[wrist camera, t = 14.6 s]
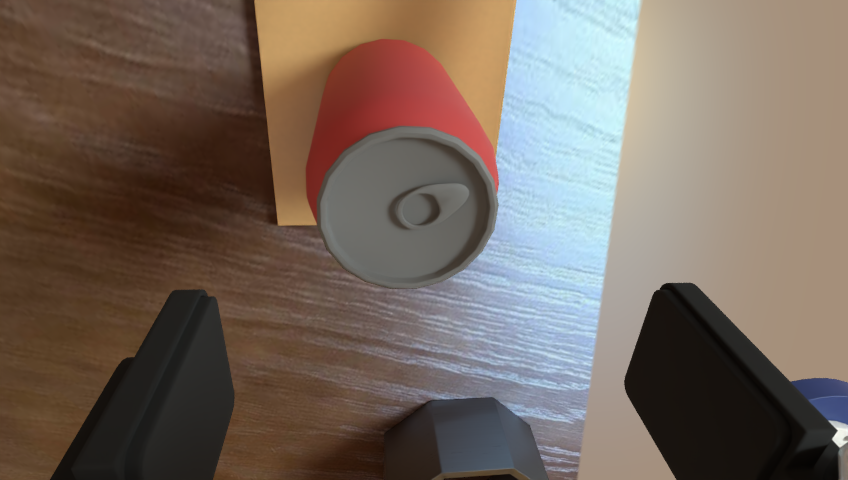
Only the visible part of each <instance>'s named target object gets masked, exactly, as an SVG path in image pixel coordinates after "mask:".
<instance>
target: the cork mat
mask: <svg viewBox="0 0 848 480" xmlns="http://www.w3.org/2000/svg"><path fill="white" fill-rule="evenodd" d="M254 5H255V14H256V23H257V33H258V42H259V52H260V61H261V70H262V80H263V89H264V99H265V108H266V117H267V127H268V136H269V146H270V155H271V164H272V174H273V183H274V193H275V202H276V211H277V221H278V225H317V223H316V221H315V218H314V216H313V213H312V211H311V208H310V206H309V203H308V199H307V193H306V164H307V160H308V156H309V151H310V147H311V143H312V138H313V134H314V130H315V126H316V121H317V117H318V113H319V108H320V104H321V100H322V95H323V92H324V89H325V86H326V83H327V79H328V76H329V74H330V73H331V71H332V70H333V69H334V67H335V66H336V65H337V63H338V62H339V61H340V59H341V58H342V57H343V56H344V55H346V54H347V53H349V52H350V51H352V50H353V49H355V48H356V47H358V46H359V45H360V44H364V43H368V42H372V41H375V40H379V39H393V40H405V41H407V42H410V43H412V44H414V45H417V46H419V47H421V48H424V49H425V50H426V51H428V52H429V53H430V54H431V55H432V56H433V57H434V58H435V59H436V60H438V61H439V62H440V63H441V64H442V66H443V68H444V69H445V71H446V72H447V74H448V75H449V77H450V78H451V80H452V81H453V83H454V84H455V86H456V87H457V89H458V90H459V92H460V94H461V95H462V97H463V98H464V100H465V101H466V103H467V104H468V106H469V107H470V109H471V110H472V112H473V113H474V115H475V117H476V118H477V120H478V121H479V123H480V124H481V126H482V128H483V130H484V132H485V133H486V135H487V137H488V139H489V140H490V142H491V144H492V146H493V148H494V153H495V159H496V151H497V144H498V136H499V129H500V121H501V113H502V106H503V98H504V91H505V83H506V75H507V68H508V60H509V53H510V45H511V37H512V30H513V22H514V15H515V7H516V0H254Z"/></svg>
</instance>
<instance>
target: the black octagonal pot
mask: <svg viewBox="0 0 848 480" xmlns="http://www.w3.org/2000/svg"><path fill="white" fill-rule="evenodd" d="M383 475H384V480H443V479H445V478H458V477H472V476H486V475H494V476H493V477H491V478H489V479H488V480H549V479H548V476H547V473H546V471H545V468H544V465H543V462H542V459H541V456H540V454H539V451H538V448H537V445H536V442H535V439H534V436H533V434H532V431H531V428H530V425H528V424H527V423H526V422H524V421H523V420H522V419H521V418H519V417H518V416H517V415H515V414H514V413H513V412H511V411H510V410H509V409H508V408H506V407H505V406H504V405H502V404H501V403H500V402H498V401H497V400H496V399H494V398H476V399H456V400H436V401H430V402H428V403H427V404H425V405H424V406H423V407H421V408H420V409H418V410H417V411H416V412H414V413H413V414H411V415H410V416H409V417H407V418H406V419H404V420H403V421H402V422H400V423H399V424H397V425H396V426H395V427H393V428H392V429H390V430H389V431H388V432H386V433H385V434H384V470H383Z"/></svg>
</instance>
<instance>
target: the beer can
mask: <svg viewBox="0 0 848 480" xmlns="http://www.w3.org/2000/svg"><path fill="white" fill-rule="evenodd" d="M498 185H499V181H498V171H497V165H496V159H495V153H494V148H493V146H492V144H491V142H490V140H489V139H488V137H487V135H486V133H485V132H484V130H483V128H482V126H481V124H480V123H479V121H478V120H477V118H476V117H475V115H474V113H473V112H472V110H471V109H470V107H469V106H468V104H467V103H466V101H465V100H464V98H463V97H462V95H461V94H460V92H459V90H458V89H457V87H456V86H455V84H454V83H453V81H452V80H451V78H450V77H449V75H448V74H447V72H446V71H445V69H444V68H443V66H442V64H441V63H440V62H439V61H438V60H436V59H435V58H434V57H433V56H432V55H431V54H430V53H429V52H428V51H426V50H425V49H424V48H421V47H419V46H417V45H414V44H412V43H410V42H407V41H405V40H393V39H379V40H375V41H372V42H368V43H364V44H360V45H359V46H358V47H356V48H355V49H353V50H352V51H350V52H349V53H347V54H346V55H344V56H343V57H342V58H341V59H340V61H339V62H338V63H337V65H336V66H335V67H334V69H333V70H332V71H331V73H330V74H329V76H328V79H327V83H326V86H325V89H324V92H323V95H322V100H321V104H320V108H319V113H318V117H317V121H316V126H315V130H314V134H313V138H312V143H311V147H310V151H309V156H308V160H307V164H306V193H307V199H308V203H309V206H310V208H311V211H312V213H313V216H314V218H315V221H316V223H317V227H318V229H319V232H320V234H321V237H322V239H323V242H324V244H325V247H326V249H327V251H328V252H329V253H330V254H331V255H332V256H333V257H334V259H335V260H336V261H337V262H338V263H339V264H340V265H341V267H342V268H343V269H345V270H346V271H348V272H350V273H351V274H353V275H355V276H356V277H358V278H360V279H361V280H363V281H365V282H368V283H371V284H375V285H379V286H382V287H386V288H390V289H417V288H421V287H424V286H428V285H432V284H436V283H440V282H443V281H444V280H446V279H448V278H450V277H452V276H453V275H455V274H457V273H459V272H461V271H462V270H464V269H465V268H466V267H467V266H468V265H469V264H470V263H471V262H472V261H473V260H474V259H475V258H476V257H477V256H478V255H479V254H480V253H481V252H482V251H483V249H484V247H485V246H486V244H487V242H488V240H489V238H490V236H491V234H492V233H493V231H494V228H495V222H496V216H497V211H498V199H497V191H498Z"/></svg>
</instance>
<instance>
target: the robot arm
mask: <svg viewBox="0 0 848 480" xmlns="http://www.w3.org/2000/svg"><path fill="white" fill-rule="evenodd" d="M624 383H625V384H624V385H625V390H626V393H627V395H628V397H629V399H630V401H631V402H632V404H633V406H634V408H635V409H636V411H637V413H638V414H639V416H640V418H641V420H642V421H643V423H644V425H645V426H646V428H647V430H648V432H649V433H650V435H651V437H652V439H653V440H654V442H655V444H656V445H657V447H658V449H659V450H660V452H661V454H662V456H663V457H664V459H665V461H666V462H667V464H668V466H669V468H670V469H671V471H672V473H673V475H674V476H675V478H676V480H848V425H846V424H844V423H841V422H838V421H831V420H827V419H826V418H825V417H824V416H823V415H822V414H821V413H820V412H819V411H818V410H817V409H816V408H815V407H814V406H813V405H812V404H811V403H810V402H809V400H808V399H807V398H806V397H805V396H804V395H803V394H802V393H801V392H800V391H799V390H798V389H797V388H796V387H795V386H794V385H793V384H792V383H791V382H790V381H789V380H788V379H787V378H786V377H785V376H784V375H783V374H782V373H781V372H780V371H779V370H778V369H777V368H776V367H775V366H774V365H773V364H772V363H771V362H770V361H769V360H768V358H767V357H766V356H765V355H763V353H762V352H761V351H760V350H759V349H758V348H757V347H756V346H755V345H754V344H753V343H752V342H751V341H750V340H749V339H748V338H747V337H746V336H745V335H744V334H743V333H742V332H741V331H740V330H739V329H738V328H737V327H736V326H735V325H734V324H733V323H732V322H731V321H730V319H729V318H728V317H726V315H724V314H723V312H722V311H720V309H719V308H718V307H717V306H716V305H715V304H714V303H713V302H712V301H711V300H710V299H709V298H708V297H707V296H706V295H705V294H704V293H703V292H702V291H701V290H700V289H699V288H698V287H697V286H696V285H695V284H693V283H666V284H664V285H662V287H661V288H660V290H656V291H655V292H654V294H653V296H652V299H651V302H650V305H649V308H648V311H647V314H646V317H645V320H644V323H643V326H642V329H641V332H640V335H639V338H638V341H637V343H636V346H635V349H634V352H633V355H632V358H631V361H630V364H629V367H628V370H627V373H626V376H625V380H624ZM233 407H234V389H233V384H232V378H231V373H230V368H229V362H228V357H227V351H226V346H225V341H224V335H223V330H222V325H221V319H220V314H219V309H218V303H217V300H216V298H215V297H208V296H207V293H206V291H205V290H174V291H172V293H171V294H170V295H169V297H168V299H167V301H166V302H165V304H164V306H163V308H162V310H161V311H160V313H159V315H158V317H157V318H156V320H155V322H154V324H153V325H152V327H151V329H150V331H149V332H148V334H147V336H146V338H145V339H144V341H143V343H142V345H141V346H140V348H139V350H138V352H137V354H136V355H135V357H129V358H126V359H124V360H122V361H121V363H120V364H119V365H118V367H117V368H116V370H115V371H114V373H113V375H112V377H111V378H110V380H109V382H108V383H107V385H106V387H105V388H104V390H103V392H102V393H101V395H100V397H99V398H98V400H97V402H96V403H95V405H94V407H93V408H92V410H91V412H90V413H89V415H88V417H87V418H86V420H85V422H84V423H83V425H82V427H81V429H80V430H79V432H78V434H77V435H76V437H75V439H74V440H73V442H72V444H71V445H70V447H69V449H68V450H67V452H66V454H65V455H64V457H63V459H62V460H61V462H60V464H59V465H58V467H57V469H56V470H55V472H54V474H53V475H52V477H51V479H50V480H213V477H214V474H215V470H216V467H217V463H218V460H219V456H220V453H221V449H222V446H223V443H224V439H225V436H226V432H227V429H228V425H229V422H230V418H231V415H232V412H233Z"/></svg>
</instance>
